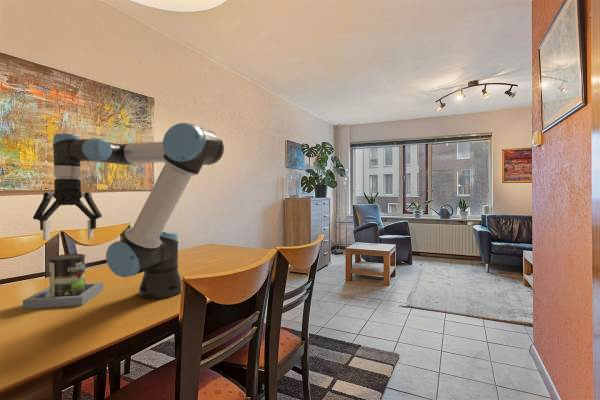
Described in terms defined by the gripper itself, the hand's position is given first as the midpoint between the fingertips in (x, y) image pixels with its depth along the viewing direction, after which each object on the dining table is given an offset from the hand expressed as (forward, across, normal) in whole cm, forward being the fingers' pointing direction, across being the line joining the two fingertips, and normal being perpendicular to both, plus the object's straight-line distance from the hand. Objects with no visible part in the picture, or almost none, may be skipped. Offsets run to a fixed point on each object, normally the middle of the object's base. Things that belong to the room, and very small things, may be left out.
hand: (69, 239), depth 110 cm
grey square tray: (+21, +1, 0) cm, 21 cm away
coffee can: (+20, +1, 0) cm, 20 cm away
